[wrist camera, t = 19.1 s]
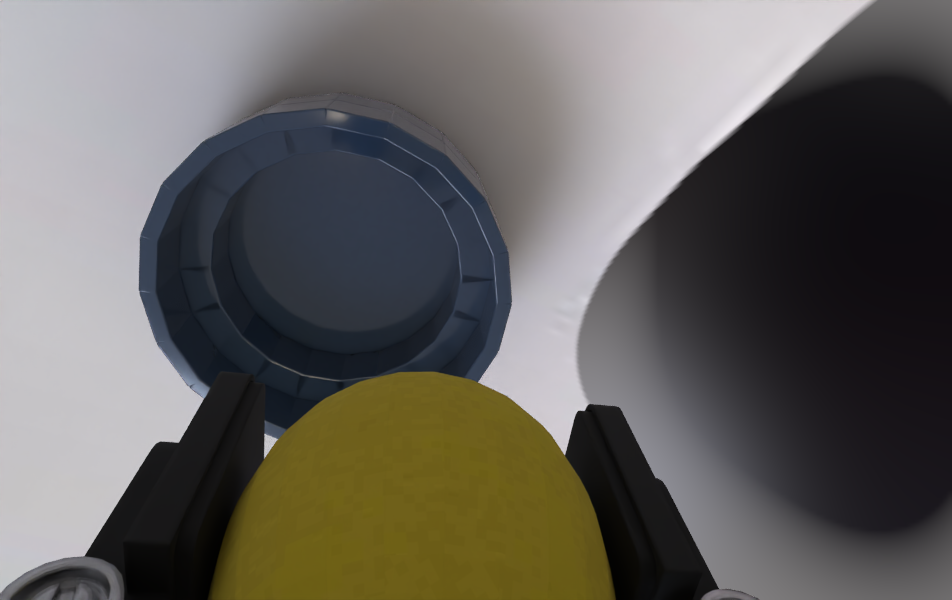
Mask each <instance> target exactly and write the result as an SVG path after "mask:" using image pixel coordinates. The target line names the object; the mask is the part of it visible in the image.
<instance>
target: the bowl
mask: <svg viewBox="0 0 952 600" xmlns="http://www.w3.org/2000/svg"><path fill="white" fill-rule="evenodd" d="M139 291H140V296H141V299H142V302H143V305H144V308H145V311H146V314H147V317H148V320H149V323H150V326H151V329H152V332H153V335H154V337H155V340H156V342H157V345H158V346H159V347H160V349H161V350H162V352H163V353H164V354H165V356H166V357H167V358H168V360H169V361H170V362H171V364H172V365H173V366H174V368H175V369H176V370H177V372H178V373H179V374H180V376H181V377H182V379H183V380H184V381H185V383H186V384H187V385H188V386H190V388H191V389H192V390H193V391H195V392H196V393H197V394H199V395H200V396H201V397H203V398H205V397H206V395H207V393H208V391H209V390H210V388H211V386H212V384H213V383H214V381H215V379H216V377H217V376H218V374H219V373H220V372H222V371H223V372H234V373H245V374H253V375H254V377H255V383H264V384H265V430H264V433H265V434H267V435H269V436H272V437H274V438H277V439H279V438H280V437H281V436H282V435H283V434H284V433H285V432H286V430H287V429H289V428H290V427H291V426H292V425H293V424H294V423H296V422H297V421H298V420H299V419H300V418H301V417H303V416H304V415H305V414H306V413H307V412H309V411H310V410H311V409H312V408H313V407H314V406H316V405H317V404H318V403H320V402H321V401H322V400H324V399H325V398H327V397H329V396H331V395H333V394H335V393H337V392H339V391H341V390H344V389H346V388H348V387H350V386H352V385H354V384H356V383H358V382H360V381H364V380H368V379H372V378H376V377H381V376H385V375H389V374H394V373H398V372H438V373H443V374H448V375H452V376H457V377H461V378H466V379H470V380H473V381H476V382H478V381H479V380H480V378H481V377H482V375H483V374H484V372H485V371H486V369H487V368H488V367H489V365H490V364H491V362H492V361H493V359H494V358H495V356H496V355H497V353H498V351H499V349H500V345H501V342H502V338H503V334H504V331H505V327H506V323H507V320H508V316H509V313H510V309H511V305H512V304H511V303H512V295H511V281H510V266H509V253H508V249H507V246H506V243H505V240H504V238H503V235H502V232H501V229H500V227H499V224H498V221H497V218H496V216H495V213H494V211H493V208H492V206H491V204H490V201H489V199H488V197H487V194H486V192H485V190H484V187H483V185H482V183H481V180H480V178H479V176H478V173H477V172H476V170H475V169H474V168H473V166H472V165H471V164H470V163H469V162H468V161H467V160H466V158H465V157H464V156H463V155H462V154H461V153H460V152H459V151H458V149H457V148H456V147H455V146H454V145H453V144H452V143H451V141H450V140H449V139H448V138H447V137H446V136H445V135H444V134H443V133H442V132H441V131H439V130H438V129H436V128H434V127H433V126H431V125H429V124H428V123H426V122H424V121H422V120H421V119H419V118H417V117H416V116H414V115H412V114H411V113H409V112H407V111H406V110H404V109H402V108H401V107H399V106H395V104H391V103H386V102H382V101H377V100H373V99H369V98H364V97H360V96H355V95H351V94H346V93H333V94H323V95H313V96H303V97H292V98H289V99H285V100H283V101H280V102H278V103H276V104H274V105H272V106H270V107H268V108H265V109H263V110H261V111H259V112H257V113H255V114H253V115H250V116H248V117H246V118H244V119H242V120H240V121H238V122H236V123H235V124H233V125H231V126H229V127H228V128H226V129H224V130H222V131H220V132H219V133H217V134H215V135H213V136H211V137H210V138H208V139H206V140H205V141H203V142H202V143H201V144H200V145H199V146H198V147H197V148H196V149H195V150H194V151H193V152H192V153H191V154H190V155H189V156H188V157H187V158H186V159H185V160H184V161H183V162H182V163H181V164H180V165H179V166H178V167H177V168H176V169H175V171H174V172H173V173H172V174H171V175H170V176H169V177H168V178H167V179H166V180H165V181H164V182H163V184H162V185H161V187H160V189H159V192H158V194H157V196H156V199H155V201H154V204H153V206H152V208H151V211H150V213H149V216H148V218H147V220H146V223H145V225H144V228H143V230H142V232H141V237H140V260H139Z"/></svg>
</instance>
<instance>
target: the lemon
mask: <svg viewBox="0 0 952 600" xmlns="http://www.w3.org/2000/svg"><path fill="white" fill-rule="evenodd" d="M207 600H616V597H615V589H614V584H613V579H612V574H611V568H610V565H609V561H608V557H607V553H606V550H605V546H604V542H603V538H602V535H601V531H600V527H599V524H598V520H597V517H596V513H595V511H594V508H593V505H592V503H591V500H590V498H589V495H588V493H587V491H586V489H585V487H584V485H583V483H582V482H581V480H580V478H579V476H578V475H577V473H576V472H575V470H574V469H573V467H572V466H571V464H570V463H569V461H568V460H567V458H566V457H565V455H564V454H563V452H562V451H561V449H560V448H559V446H558V445H557V443H556V442H555V440H554V439H553V437H552V436H551V434H550V433H549V432H548V431H547V430H546V429H545V428H544V427H543V425H541V424H540V423H539V422H538V421H537V420H535V419H534V418H533V417H532V416H531V415H529V414H528V413H527V412H526V411H525V410H523V409H522V408H521V407H520V406H519V405H517V404H516V403H515V402H514V401H512V400H511V399H510V398H508V397H507V396H505V395H503V394H501V393H499V392H497V391H495V390H493V389H490V388H488V387H486V386H484V385H482V384H480V383H478V382H476V381H473V380H470V379H466V378H461V377H457V376H452V375H448V374H443V373H438V372H398V373H394V374H389V375H385V376H381V377H376V378H372V379H368V380H364V381H360V382H358V383H356V384H354V385H352V386H350V387H348V388H346V389H344V390H341V391H339V392H337V393H335V394H333V395H331V396H329V397H327V398H325V399H324V400H322V401H321V402H320V403H318V404H317V405H316V406H314V407H313V408H312V409H311V410H310V411H309V412H307V413H306V414H305V415H304V416H303V417H301V418H300V419H299V420H298V421H297V422H296V423H294V424H293V425H292V426H291V427H290V428H289V429H287V430H286V432H285V433H284V434H283V435H282V436H281V437H280V438H279V439H278V440H277V441H276V443H275V444H274V446H273V447H272V449H271V450H270V451H269V453H268V454H267V456H266V457H265V459H264V460H263V462H262V463H261V465H260V466H259V468H258V469H257V471H256V472H255V474H254V475H253V477H252V478H251V480H250V481H249V483H248V484H247V486H246V487H245V489H244V491H243V493H242V495H241V497H240V498H239V500H238V502H237V504H236V506H235V508H234V511H233V513H232V515H231V518H230V520H229V523H228V525H227V529H226V532H225V535H224V538H223V542H222V545H221V548H220V552H219V556H218V559H217V563H216V566H215V570H214V574H213V577H212V581H211V585H210V590H209V594H208V599H207Z"/></svg>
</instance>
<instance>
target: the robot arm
mask: <svg viewBox="0 0 952 600" xmlns="http://www.w3.org/2000/svg"><path fill="white" fill-rule="evenodd" d="M264 430H265V384H264V383H255V377H254V375H253V374H245V373H234V372H223V371H222V372H220V373H219V374H218V376H217V377H216V379H215V381H214V383H213V384H212V386H211V388H210V390H209V391H208V393H207V395H206V397H205V398H204V400H203V402H202V404H201V405H200V407H199V409H198V410H197V412H196V414H195V416H194V417H193V419H192V421H191V423H190V424H189V426H188V428H187V430H186V431H185V433H184V435H183V437H182V438H181V440H180V442H179V443H173V442H159V443H156V444H155V446H154V447H153V448H152V449H151V451H150V453H149V454H148V456H147V457H146V459H145V461H144V462H143V464H142V465H141V467H140V468H139V470H138V472H137V473H136V475H135V476H134V478H133V480H132V481H131V483H130V484H129V486H128V488H127V489H126V491H125V492H124V494H123V496H122V497H121V499H120V500H119V502H118V504H117V505H116V507H115V508H114V510H113V512H112V513H111V515H110V516H109V518H108V520H107V521H106V523H105V524H104V526H103V527H102V529H101V531H100V532H99V534H98V535H97V537H96V539H95V540H94V542H93V543H92V545H91V547H90V548H89V550H88V551H87V553H86V555H85V556H83V557H71V558H63V559H60V560H56V561H52V562H49V563H45V564H43V565H41V566H39V567H37V568H35V569H32V570H30V571H28V572H26V573H24V574H23V575H22V576H20V577H19V578H17V579H16V580H15V581H13V582H12V583H10V584H9V585H8V586H7V587H6V588H5V589H4V590H3V591H2V592H1V593H0V600H207V599H208V594H209V590H210V585H211V581H212V577H213V574H214V570H215V566H216V563H217V559H218V556H219V552H220V548H221V545H222V542H223V538H224V535H225V532H226V529H227V525H228V523H229V520H230V518H231V515H232V513H233V511H234V508H235V506H236V504H237V502H238V500H239V498H240V497H241V495H242V493H243V491H244V489H245V487H246V486H247V484H248V483H249V481H250V480H251V478H252V477H253V475H254V474H255V472H256V471H257V469H258V468H259V466H260V465H261V463H262V462H263V460H264ZM565 457H566V458H567V460H568V461H569V463H570V464H571V466H572V467H573V469H574V470H575V472H576V473H577V475H578V476H579V478H580V480H581V482H582V483H583V485H584V487H585V489H586V491H587V493H588V495H589V498H590V500H591V503H592V505H593V508H594V511H595V513H596V517H597V520H598V524H599V527H600V531H601V535H602V538H603V542H604V546H605V550H606V553H607V557H608V561H609V565H610V568H611V574H612V579H613V584H614V589H615V597H616V600H759V599H758V598H755V597H753V596H751V595H749V594H746V593H744V592H741V591H736V590H731V589H719V588H718V586H717V584H716V582H715V581H714V579H713V577H712V575H711V573H710V571H709V569H708V567H707V565H706V563H705V561H704V559H703V557H702V555H701V554H700V552H699V549H698V548H697V546H696V544H695V542H694V540H693V538H692V536H691V534H690V532H689V530H688V528H687V526H686V524H685V522H684V521H683V519H682V517H681V515H680V513H679V511H678V509H677V507H676V505H675V503H674V501H673V499H672V497H671V495H670V493H669V491H668V489H667V487H666V486H665V485H664V483H663V482H662V481H661V480H659V479H658V478H655V476H654V474H653V473H652V471H651V468H650V466H649V464H648V463H647V461H646V458H645V457H644V454H643V453H642V451H641V449H640V447H639V445H638V443H637V441H636V439H635V437H634V435H633V433H632V431H631V429H630V427H629V425H628V423H627V421H626V419H625V417H624V415H623V413H622V411H621V409H620V408H619V407H616V406H605V405H594V404H590V405H588V406H587V408H586V410H585V411H578V412H577V414H576V416H575V419H574V423H573V427H572V431H571V435H570V439H569V443H568V447H567V451H566V454H565Z"/></svg>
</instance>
